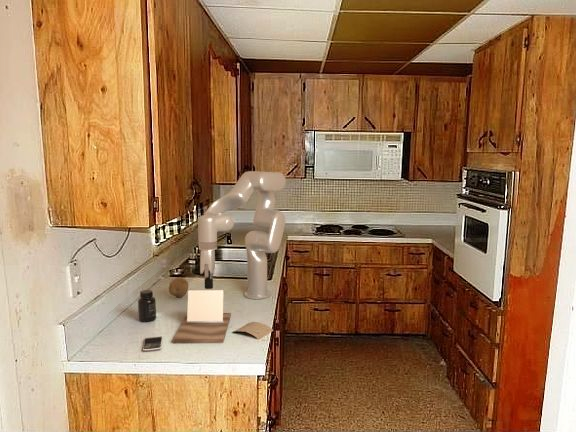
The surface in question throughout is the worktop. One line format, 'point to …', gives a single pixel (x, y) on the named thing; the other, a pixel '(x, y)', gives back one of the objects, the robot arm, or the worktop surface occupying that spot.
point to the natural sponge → (178, 287)
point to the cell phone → (152, 344)
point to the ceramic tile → (205, 306)
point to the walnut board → (202, 331)
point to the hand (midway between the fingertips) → (208, 288)
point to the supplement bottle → (146, 306)
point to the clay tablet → (256, 329)
